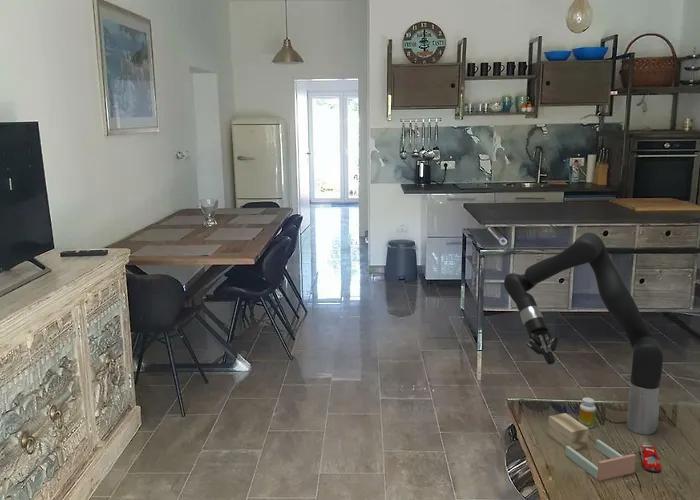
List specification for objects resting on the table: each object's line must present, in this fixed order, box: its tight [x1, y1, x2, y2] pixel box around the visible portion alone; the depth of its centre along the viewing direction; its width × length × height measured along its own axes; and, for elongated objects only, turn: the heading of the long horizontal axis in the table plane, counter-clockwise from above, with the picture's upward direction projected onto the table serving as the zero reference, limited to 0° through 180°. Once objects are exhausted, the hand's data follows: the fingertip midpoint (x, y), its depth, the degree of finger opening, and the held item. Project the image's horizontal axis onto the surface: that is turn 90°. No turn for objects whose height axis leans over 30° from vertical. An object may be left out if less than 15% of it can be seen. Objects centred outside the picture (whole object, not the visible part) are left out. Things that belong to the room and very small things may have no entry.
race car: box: [639, 444, 662, 473], centre depth 193 cm, size 13×5×4 cm, turn 160°
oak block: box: [547, 412, 590, 451], centre depth 206 cm, size 7×12×7 cm, turn 19°
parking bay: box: [564, 439, 637, 482], centre depth 192 cm, size 13×16×6 cm
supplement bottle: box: [578, 397, 597, 429], centre depth 217 cm, size 5×5×10 cm
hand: (551, 363), depth 215 cm, fingers closed
